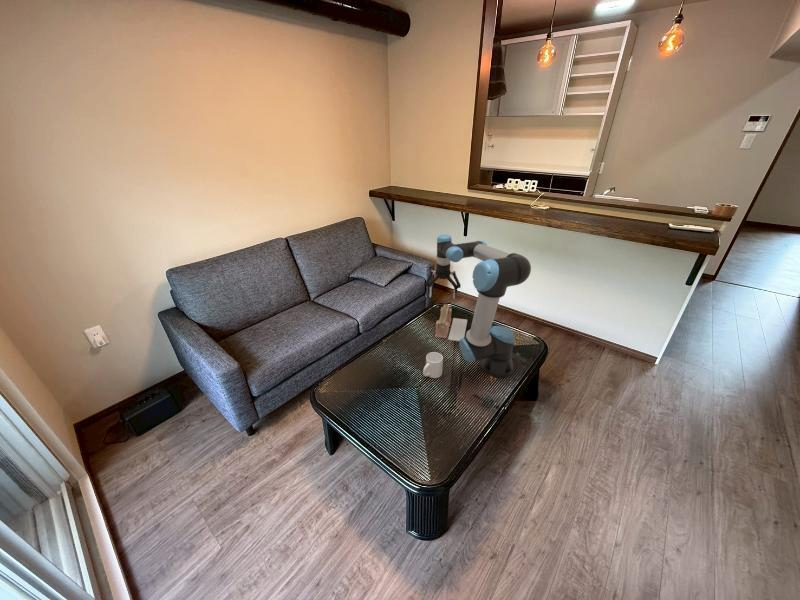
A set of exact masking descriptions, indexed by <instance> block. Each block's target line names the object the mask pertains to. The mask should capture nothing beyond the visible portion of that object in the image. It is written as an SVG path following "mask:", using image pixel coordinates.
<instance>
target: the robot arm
mask: <svg viewBox="0 0 800 600" xmlns="http://www.w3.org/2000/svg"><path fill="white" fill-rule="evenodd" d="M436 239H437V240H436V270H433V269H431V270H430V274H429V275H428V278H427V279H426V281H425V282H424V286H425V287H427V292H429V298H432V290H433V289H432V286H433V284H435V282H436V281H437V280H438V279H440V280H447V281H449V283H450V284H451V285H452V287H453V295H452V299H453V300H455V298H456V297H455V296H456V294H457V293H458V289H461V288H462V287H461V286H462V285H461V283H460V280H459V278H458V276H457V273H456V271H455V270H453V271H451V262H452V263H458V262H460V261H461V260H462V259H466V258H476V259H478V260H480V261H479V262H478V263H477V264H476V265H475V266H474V268H473V270H472V284H473V286H474V289H476V292H477V293H478V296H477V300H476V302H475V303H476V304H475V307H474V308H475V309H474V313H473V317H472V321H471V325H470V329H469V330H466V332H465V336H464V338H462V339H460V340H459V341H458V345H459V350H460V352H461V355H462V357H463V358H464V359H465V361H467V362H469V363H472V362H476V361H482V363H481V368H482V370H483V371H484V373H486V374H487V375H489V376H490V377H493V378H498V379H502V378H503V379H505V378H508V377H510V376H511V375H512V374H513V372H514V371H513V370H514V364H513V360H512V357H513V349H514V345H515V339H516V338H515V333H514V332H513V330H511V329H510V328H508V327H505V326H501V325H493V323H494V319H495V316H496V313H497V309H498V305H499V302H500V299H501V298H503V297H504V296H505V294H506V292H507V289H508V288H509V287H514V286H518V285H520V284H523V283H525V282H526V280H528V279H529V277H530V275H531V271H532V265H531V262H530V261H529V259H528V258H527V257H525V256H523V255H522V254H519V253H517V252H511V253H509V252H506V251H503V250H500V249H498V248H494V247H493V246H489V245H488V244H487V243H486V242H485V241H484V240H476V241H471V242H463V243H462V242H461V243H456V244H455V243H453V240H452V236H451V235H450V234H440V235H438V236H437V238H436ZM434 275H435V277H434V278H433V279H432V277H433V276H434ZM451 276H453V278H452V277H451ZM431 279H432V280H431ZM453 279H454V280H453Z"/></svg>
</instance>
